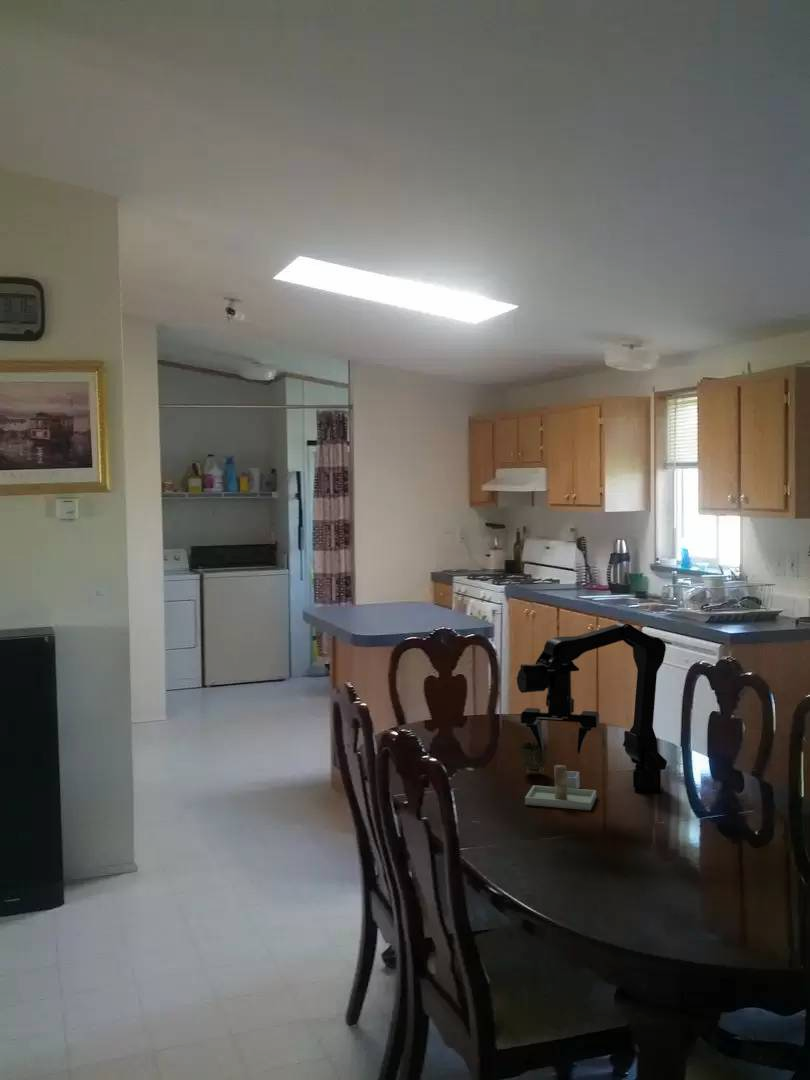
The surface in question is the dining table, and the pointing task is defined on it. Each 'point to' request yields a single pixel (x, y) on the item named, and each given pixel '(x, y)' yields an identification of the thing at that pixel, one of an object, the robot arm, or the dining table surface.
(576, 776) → the grey square sleeve
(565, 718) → the robot arm
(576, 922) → the dining table surface
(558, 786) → the dowel
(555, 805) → the tray
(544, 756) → the cup
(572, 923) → the dining table surface
